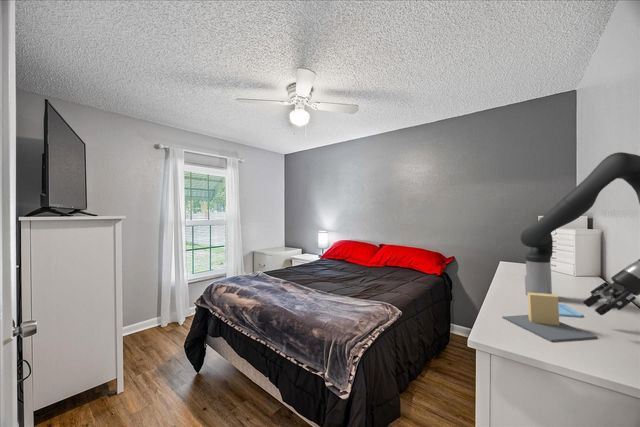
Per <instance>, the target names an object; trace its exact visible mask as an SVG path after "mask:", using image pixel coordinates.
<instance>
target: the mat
mask: <svg viewBox="0 0 640 427" xmlns="http://www.w3.org/2000/svg"><path fill="white" fill-rule="evenodd" d="M501 318H502V319H503V318H504V320H505V319H506V320H505V321H507V320H508V322H509V321H510V323H512V324H513V325H516V326H517V327H520V328H522V329H524V330H525V331H528V332H530V333H532V334H534V335H537V336H538V337H541V338H542V339H543V340H544V339H545V340H546V341H547V342H564V341H565V342H567V341H581V340H595V339H598V336H597V335H594V334H592V333H589V332H587V331H584V330H582V329H579V328H577V327H574V326H572V325H569V324H568V323H564V322H563V321H559V325H552V324H543V323H534V322H531V321H530V320H529V317H528V314H520V315H505V316H504V315H503V316H502V317H501Z"/></svg>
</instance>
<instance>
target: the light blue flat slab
mask: <svg viewBox="0 0 640 427" xmlns="http://www.w3.org/2000/svg"><path fill="white" fill-rule="evenodd" d="M558 305H559V317H568V318H569V317H570V318H584V314H582V313H581V312H579V311H577V310H576V309H573V308H571V307H569V306H568V305H566V304H562V303H561V304H559V303H558Z"/></svg>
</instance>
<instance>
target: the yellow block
mask: <svg viewBox="0 0 640 427" xmlns="http://www.w3.org/2000/svg"><path fill="white" fill-rule="evenodd" d="M527 294H528V296H527V313H528V314H527V315H528V317H529V320H530V321H531V322H534V323H543V324H552V325H559V322H560V316H559V305H558V304H559V296H558V295H556V294H553V293H552V294H544V293H530V292H527Z"/></svg>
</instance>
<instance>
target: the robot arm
mask: <svg viewBox="0 0 640 427" xmlns="http://www.w3.org/2000/svg"><path fill="white" fill-rule="evenodd" d="M617 179H621V180H623V181H625V182H626V183H627V184H628V185H629V186H631V187H632V189H633V190H634V192H635V194H636V196H637V199H638V203H639V204H638V205H640V155H639V154H635V153H629V152H624V151H623V152H619V151H618V152H615V153H611V154H610V155H607V156H606V157H605V158H604V159H602V160H601V162H599V163H598V164H597V165H596V167H595V168H594V169H593V170H592V171H591V172H590V173H589V174H588V175H587V177H585V178H584V179H583V180H582V181H581V182H580V183H579V184H578V185H577V186H575V188H574V189H572V190H571V191H570V192H569V193H568V194H566V195H565V196H564V197H562V199H560V200H559V201H558V202H557V203H556V204H555V205H554V206H553V207H552V208H551V209H550V210H548V211H547V212H546V213H544V215H543V216H541V218H540V219H538V220H537V221H536V222H534V223H532V224H531V225H529V226H528V227H527V228H525V229H524V230H523V231H522V232H521V235H520V241H521V243H522V244H523V246H526V247H529V248H530V250H529V252H528V253H526V255H525V270H526V274H525V275H524V287H525V288H524V290H525V295H526V296H527V297H528V294H527V292H530V293H544V294H553V291H552V290H553V288H552V287H553V286H552V285H553V284H552V264H551V260H552V256H553V252H554V251H553V247H554V242H553V235H552V233H553V232H554V231H556V230H557V229H559V228H561V227H564V226H566V225H568V224H570V223H572V222H574V221H575V220H577V219H579V218H581V216H583V215H584V214H585V213H587V212H588V211H589V210H590V209H591V208H592V207H593V206H594V205H595V203H596V201H597V198H598V196H599V194H600V193H601V191H603V190H604V189H605V188H606V187H607V186H608V185H610V184H611V183H612V182H614V181H616V180H617ZM610 279H611V281H612V282H613V283H611V284H609V283H608V282H606V281H605V282H603V283H602V284H600V285H598V286H597V287H596V288H594V289H592V290H591V291H590V294H591V295H590V296H588V297H587V298H586V299H585V300H582V303H583V304H584V305H585V306H586V307H587V308H591V307H592V306H593V305H595V304H597V303H598V302H599V301H603V300H606V301H605V302H603V303H602V304H600V305H599V306H597V307H596V308H595V309H594V312H596V313H597V314H598V315H599V316H604V315H605V314H607V313H608V312H610V311H611V310H616V309H617V310H619V311H620V310H622V309H623V308H625V307H627V306H628V305H629V304H631V303H632V302H633V301H635V300H636V299H637V297H636V296H638V297H639V296H640V258H639V259H638V260H636V261H633V263H630V264H629V265H627V266H626V267H624V268H623V269H622V270H620V271H619V272H617V273H616V274H614V275H613V276H611V278H610Z"/></svg>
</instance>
